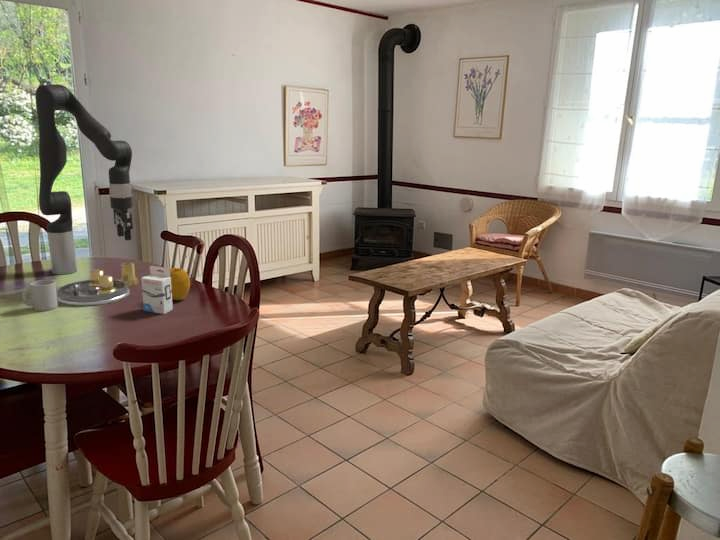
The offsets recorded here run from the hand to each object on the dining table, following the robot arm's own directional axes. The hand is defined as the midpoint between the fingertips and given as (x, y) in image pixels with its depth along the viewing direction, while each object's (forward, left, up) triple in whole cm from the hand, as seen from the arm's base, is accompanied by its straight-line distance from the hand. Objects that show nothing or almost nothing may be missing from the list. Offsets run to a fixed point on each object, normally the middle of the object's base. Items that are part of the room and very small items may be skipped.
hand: (124, 238), depth 209 cm
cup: (+12, -33, -18) cm, 39 cm away
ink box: (+37, -3, -18) cm, 41 cm away
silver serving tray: (+8, -15, -18) cm, 25 cm away
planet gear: (0, 0, -18) cm, 18 cm away
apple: (+29, +7, -18) cm, 35 cm away
